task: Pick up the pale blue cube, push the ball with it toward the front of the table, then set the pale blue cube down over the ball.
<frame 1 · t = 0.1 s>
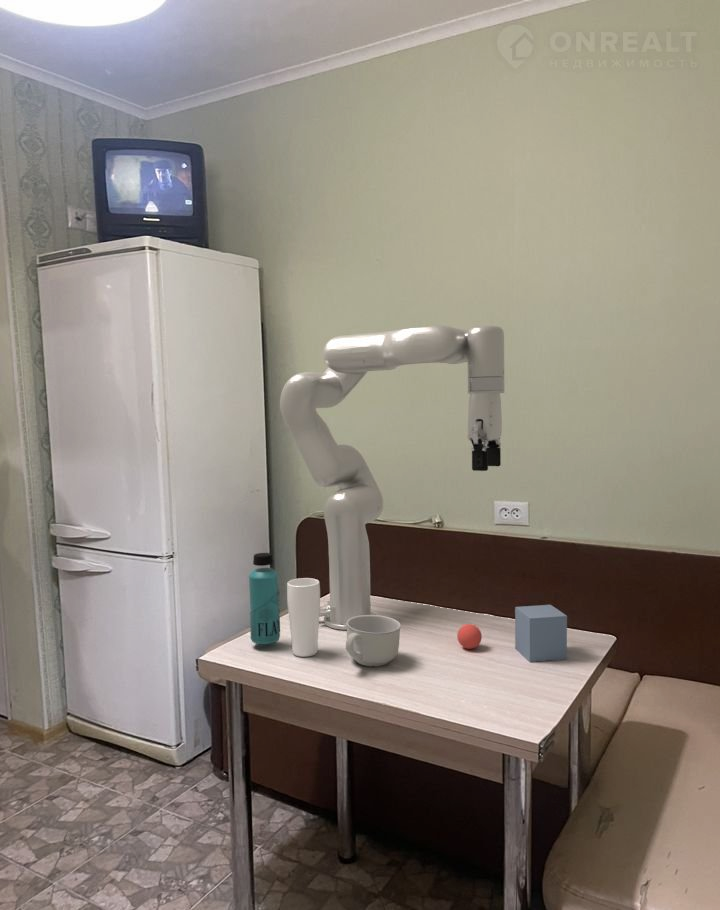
hand: (486, 468, 147), 37 cm above the table, tool pointing down, fingers open, 9 cm apart
pale blue cube: (540, 653, 142), on the table
ball: (469, 636, 146), on the table
teacup: (368, 664, 139), on the table
beverage bottle: (265, 646, 149), on the table
drinking glass: (305, 654, 145), on the table
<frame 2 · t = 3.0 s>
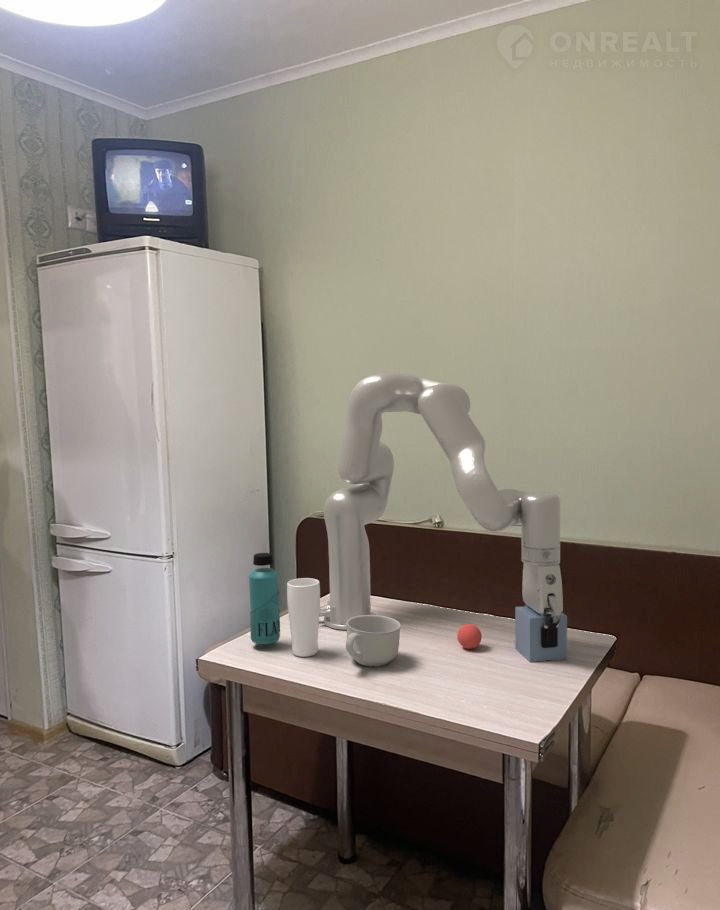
hand: (540, 639, 142), 3 cm above the table, tool pointing down, fingers closed on pale blue cube, 7 cm apart
pale blue cube: (540, 653, 142), on the table, touching gripper
everything else where it was.
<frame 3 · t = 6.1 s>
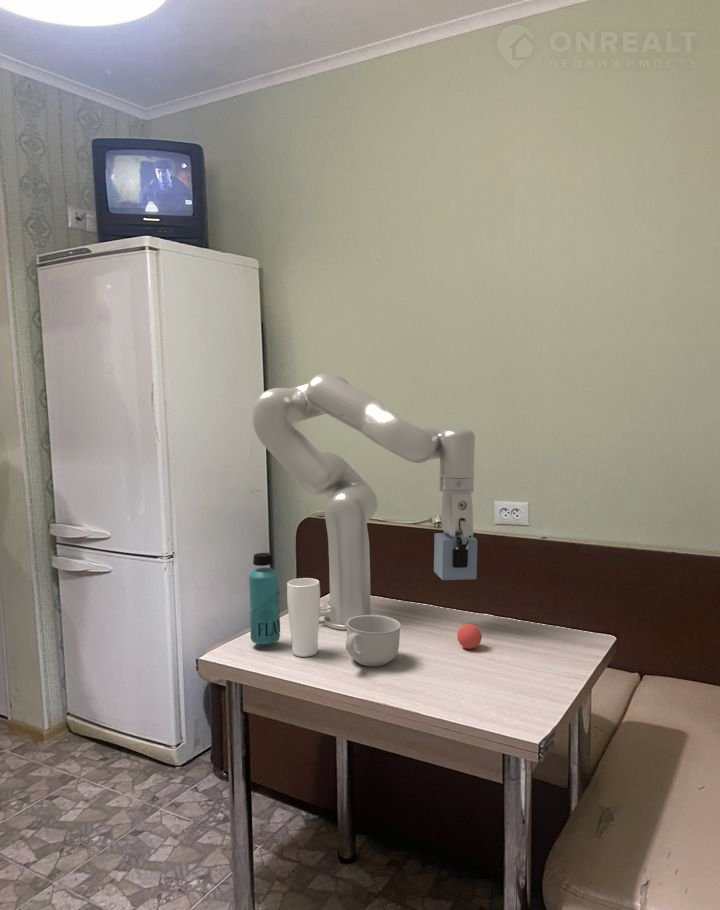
hand: (454, 562, 156), 15 cm above the table, tool pointing down, fingers closed on pale blue cube, 7 cm apart
pale blue cube: (454, 575, 157), point 12 cm above the table, touching gripper
everything else where it was.
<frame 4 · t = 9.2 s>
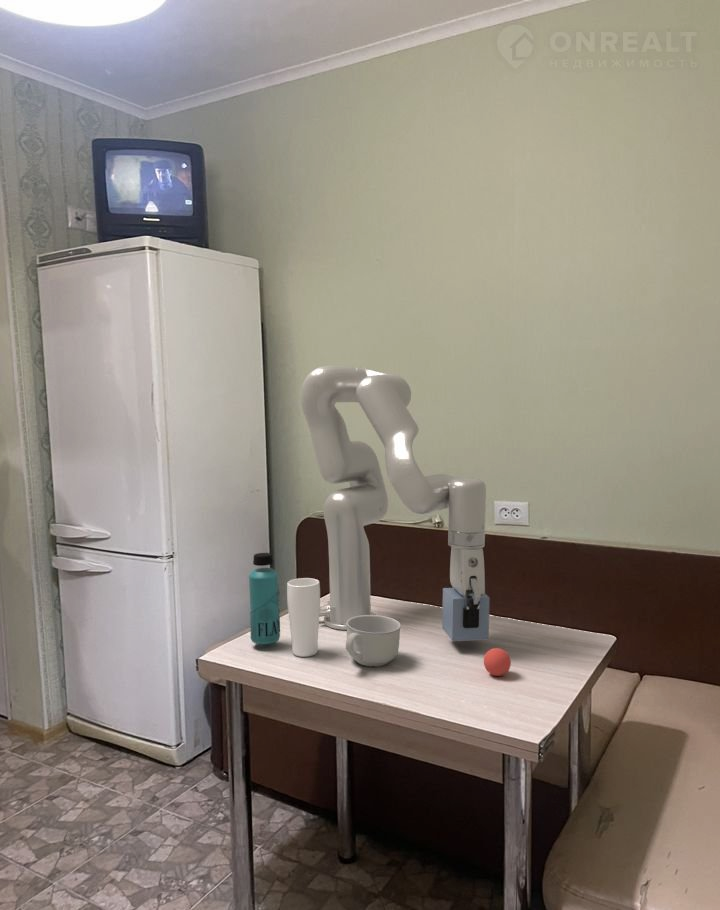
hand: (464, 620, 147), 6 cm above the table, tool pointing down, fingers closed on pale blue cube, 7 cm apart
pale blue cube: (464, 633, 147), point 3 cm above the table, touching gripper
ball: (497, 661, 131), on the table
everything else where it was.
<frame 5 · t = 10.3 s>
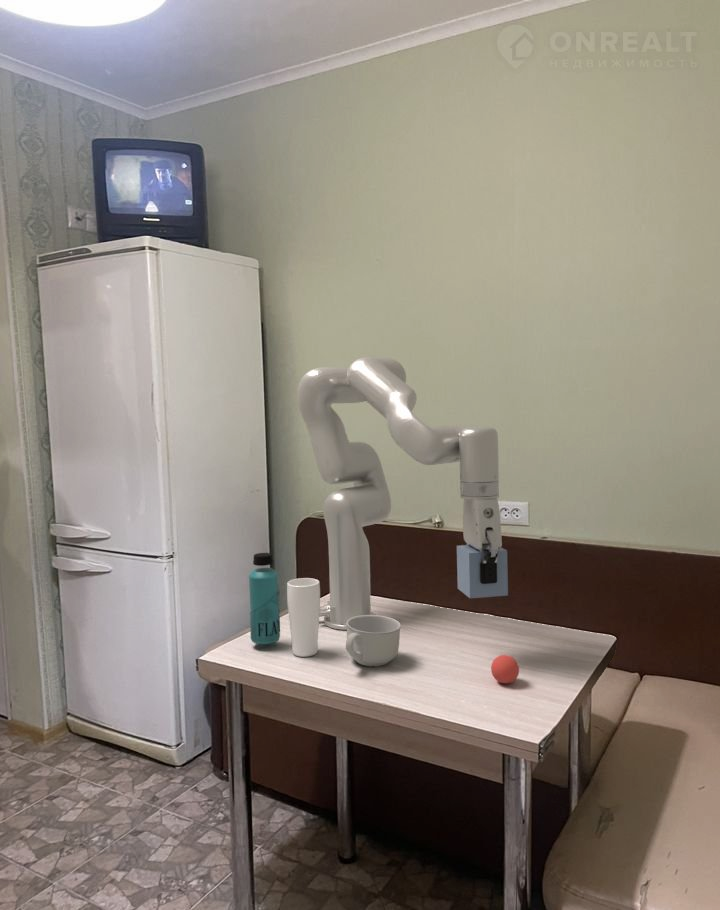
hand: (481, 577, 139), 16 cm above the table, tool pointing down, fingers closed on pale blue cube, 7 cm apart
pale blue cube: (482, 591, 139), point 14 cm above the table, touching gripper
ball: (504, 669, 128), on the table
everything else where it was.
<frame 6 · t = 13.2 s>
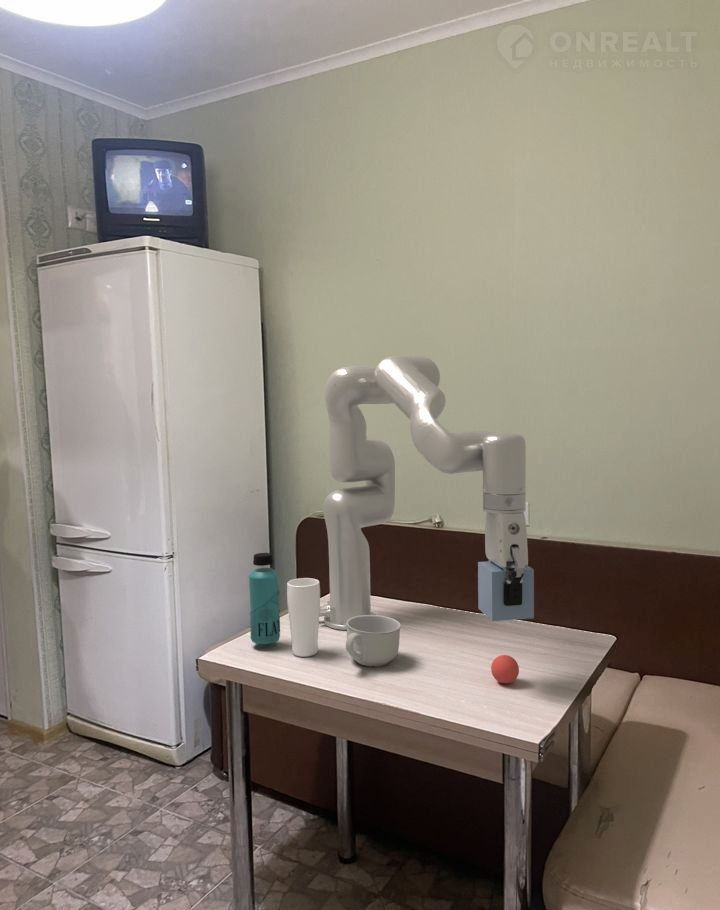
hand: (504, 597, 127), 16 cm above the table, tool pointing down, fingers closed on pale blue cube, 7 cm apart
pale blue cube: (505, 613, 127), point 13 cm above the table, touching gripper
everything else where it was.
when the fingers open (3 cm above the table, at t = 16.0 s): pale blue cube stays where it is, on the table.
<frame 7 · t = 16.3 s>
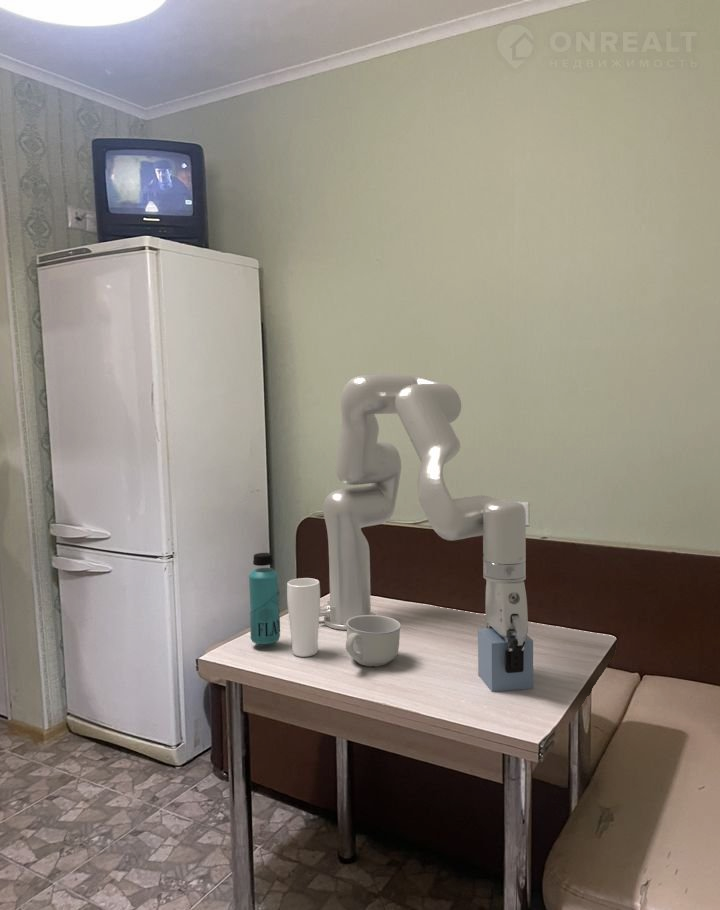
hand: (504, 661, 128), 4 cm above the table, tool pointing down, fingers open, 9 cm apart
pale blue cube: (505, 681, 128), on the table
everything else where it was.
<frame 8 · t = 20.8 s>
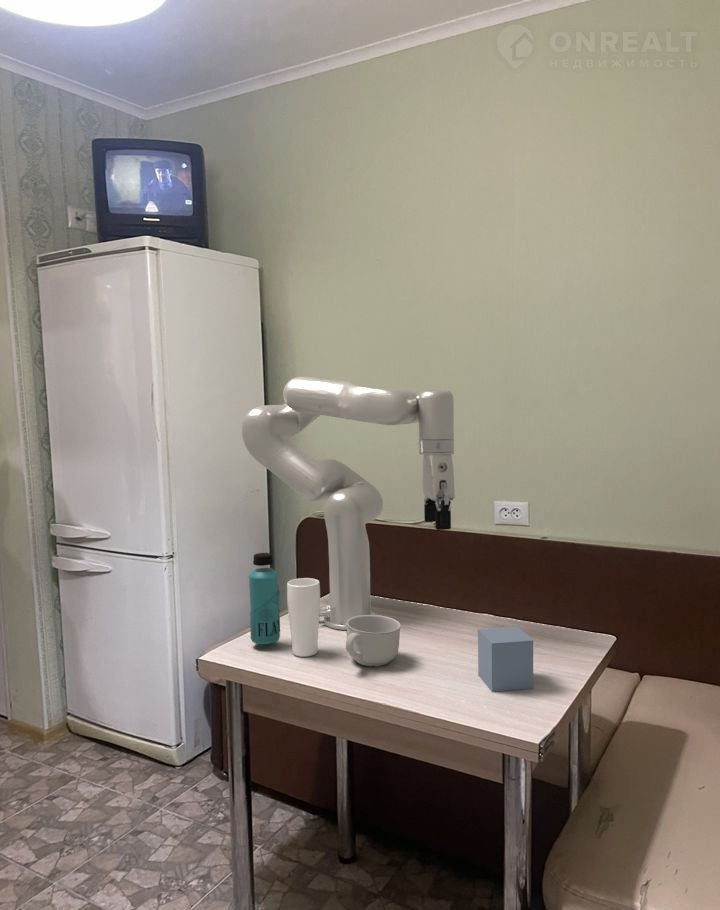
hand: (437, 525, 153), 24 cm above the table, tool pointing down, fingers open, 9 cm apart
nothing on the table moved.
at the end: ball 0.4 cm from the pale blue cube (horizontally); pale blue cube on the table; ball moved 18.3 cm from its start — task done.
